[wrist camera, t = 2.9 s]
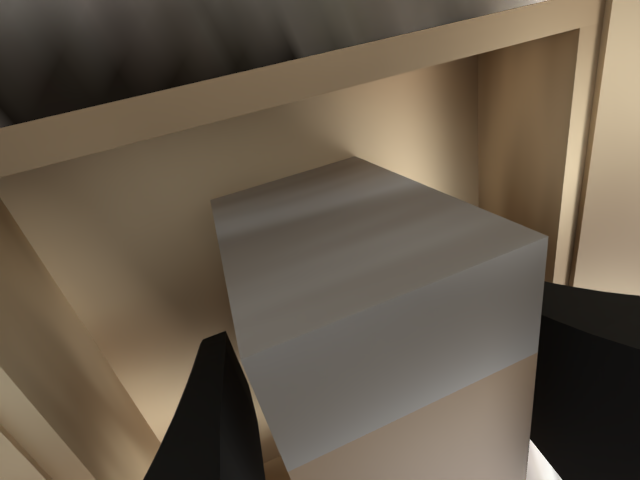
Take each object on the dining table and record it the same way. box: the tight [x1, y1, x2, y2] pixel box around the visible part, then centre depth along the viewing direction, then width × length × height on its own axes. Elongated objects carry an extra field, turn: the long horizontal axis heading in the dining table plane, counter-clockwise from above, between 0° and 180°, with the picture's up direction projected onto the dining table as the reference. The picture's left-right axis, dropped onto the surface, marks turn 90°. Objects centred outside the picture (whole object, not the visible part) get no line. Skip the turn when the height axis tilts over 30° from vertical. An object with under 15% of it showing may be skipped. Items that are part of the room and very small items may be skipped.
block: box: [210, 156, 549, 480], centre depth 9 cm, size 8×4×6 cm, turn 12°
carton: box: [0, 0, 640, 480], centre depth 9 cm, size 13×21×5 cm, turn 102°
